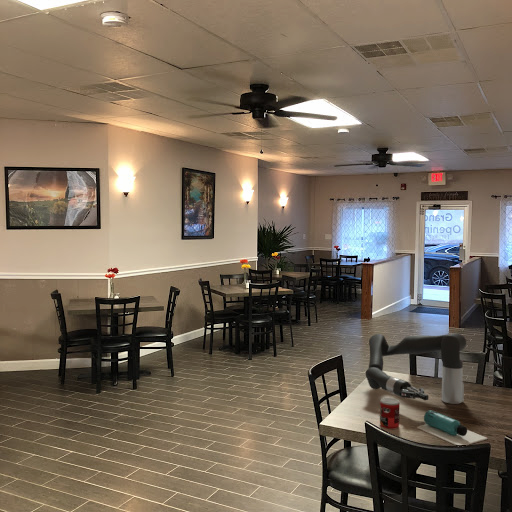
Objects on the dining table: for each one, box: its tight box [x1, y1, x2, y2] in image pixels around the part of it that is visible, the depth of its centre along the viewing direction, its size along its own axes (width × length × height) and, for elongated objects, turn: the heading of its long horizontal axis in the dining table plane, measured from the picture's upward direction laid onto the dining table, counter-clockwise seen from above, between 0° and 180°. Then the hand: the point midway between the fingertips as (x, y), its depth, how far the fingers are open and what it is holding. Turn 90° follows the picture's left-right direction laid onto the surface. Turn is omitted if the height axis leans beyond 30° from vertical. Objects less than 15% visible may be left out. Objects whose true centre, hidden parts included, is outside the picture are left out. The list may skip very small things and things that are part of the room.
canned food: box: [379, 397, 401, 430], centre depth 227 cm, size 8×8×11 cm
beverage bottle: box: [423, 409, 468, 436], centre depth 220 cm, size 6×7×20 cm
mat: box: [416, 424, 488, 446], centre depth 219 cm, size 22×16×1 cm
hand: (427, 398), depth 230 cm, fingers closed
